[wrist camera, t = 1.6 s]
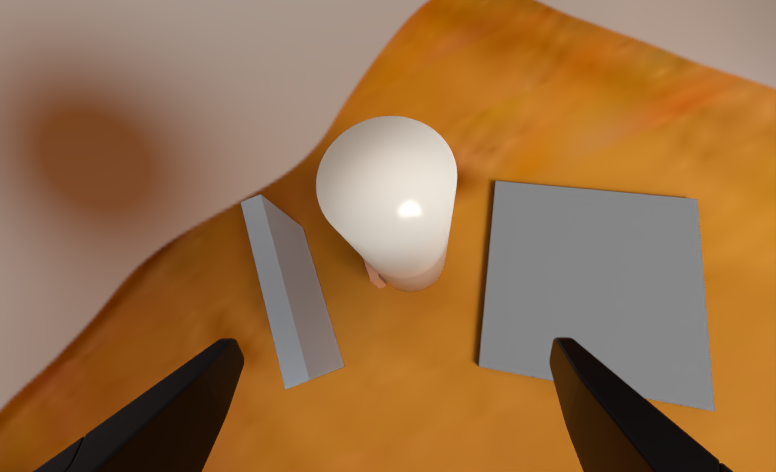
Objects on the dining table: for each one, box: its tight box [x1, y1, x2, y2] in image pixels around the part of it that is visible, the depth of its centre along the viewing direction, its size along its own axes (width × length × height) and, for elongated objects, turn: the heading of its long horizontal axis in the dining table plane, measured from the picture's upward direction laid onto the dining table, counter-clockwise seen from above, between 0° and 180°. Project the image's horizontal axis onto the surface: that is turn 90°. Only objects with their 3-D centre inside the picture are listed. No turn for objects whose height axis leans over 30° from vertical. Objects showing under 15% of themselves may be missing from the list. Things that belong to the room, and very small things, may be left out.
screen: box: [241, 194, 344, 390], centre depth 19 cm, size 10×1×6 cm, turn 20°
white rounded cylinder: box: [316, 116, 457, 292], centre depth 16 cm, size 5×5×12 cm
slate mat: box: [478, 181, 715, 411], centre depth 20 cm, size 12×12×1 cm
